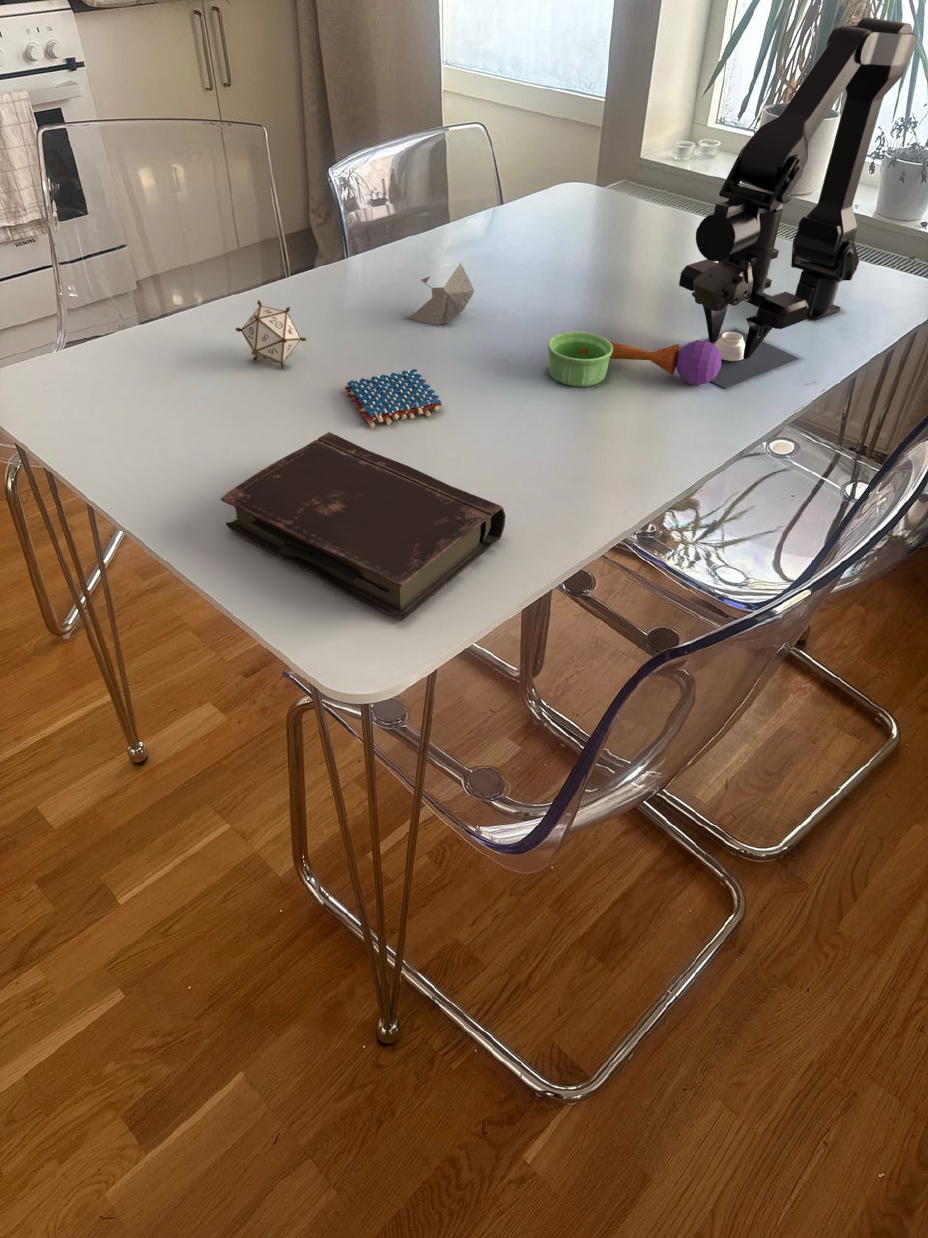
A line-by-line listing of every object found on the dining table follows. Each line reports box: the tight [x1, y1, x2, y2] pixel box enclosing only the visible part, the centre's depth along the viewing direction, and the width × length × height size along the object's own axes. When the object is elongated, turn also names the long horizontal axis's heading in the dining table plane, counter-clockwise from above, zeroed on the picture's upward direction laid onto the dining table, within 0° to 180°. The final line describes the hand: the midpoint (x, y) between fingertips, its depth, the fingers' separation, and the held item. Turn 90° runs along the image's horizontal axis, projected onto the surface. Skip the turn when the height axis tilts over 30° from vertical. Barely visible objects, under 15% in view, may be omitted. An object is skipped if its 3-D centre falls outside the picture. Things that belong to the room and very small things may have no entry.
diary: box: [220, 431, 506, 622], centre depth 101 cm, size 19×25×5 cm
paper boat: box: [407, 262, 475, 327], centre depth 144 cm, size 12×6×9 cm
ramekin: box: [547, 330, 613, 387], centre depth 130 cm, size 9×9×4 cm
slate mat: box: [679, 328, 799, 390], centre depth 137 cm, size 16×12×1 cm
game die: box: [234, 299, 308, 369], centre depth 131 cm, size 9×8×10 cm
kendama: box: [579, 339, 721, 386], centre depth 131 cm, size 6×6×20 cm
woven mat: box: [344, 368, 442, 429], centre depth 124 cm, size 10×11×2 cm
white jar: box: [714, 331, 745, 361], centre depth 136 cm, size 5×3×5 cm
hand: (729, 349), depth 136 cm, fingers open, 6 cm apart
